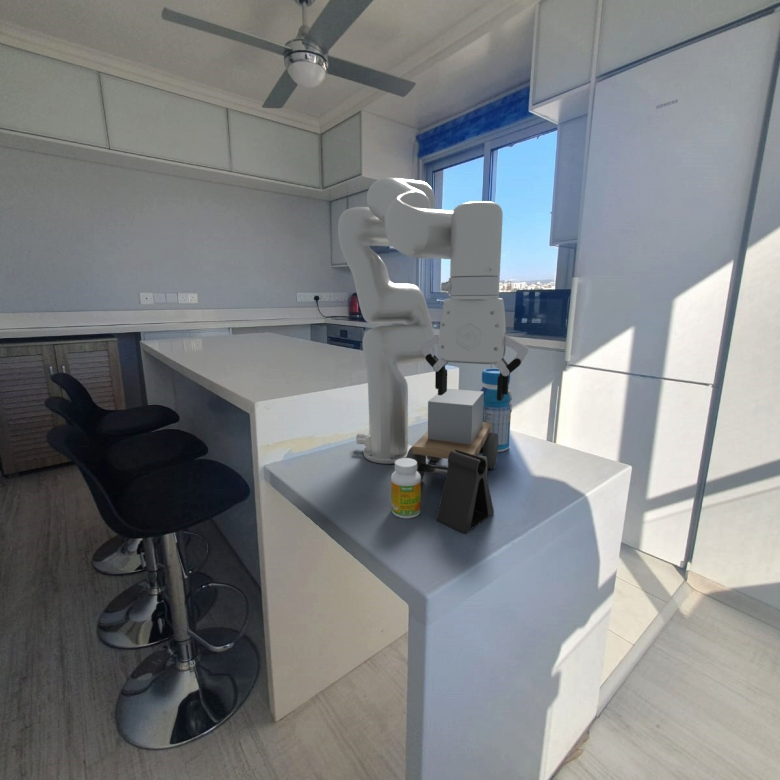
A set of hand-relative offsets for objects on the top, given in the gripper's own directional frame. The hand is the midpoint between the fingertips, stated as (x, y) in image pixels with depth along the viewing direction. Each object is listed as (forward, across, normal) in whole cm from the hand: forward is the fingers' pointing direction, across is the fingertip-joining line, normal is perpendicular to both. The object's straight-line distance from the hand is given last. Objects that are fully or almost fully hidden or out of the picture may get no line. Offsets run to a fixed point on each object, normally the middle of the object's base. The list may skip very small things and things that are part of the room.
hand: (470, 396), depth 68 cm
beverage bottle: (+23, -1, +36) cm, 42 cm away
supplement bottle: (+22, -11, -2) cm, 25 cm away
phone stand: (+22, 0, 0) cm, 23 cm away
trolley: (+22, -6, +16) cm, 28 cm away
